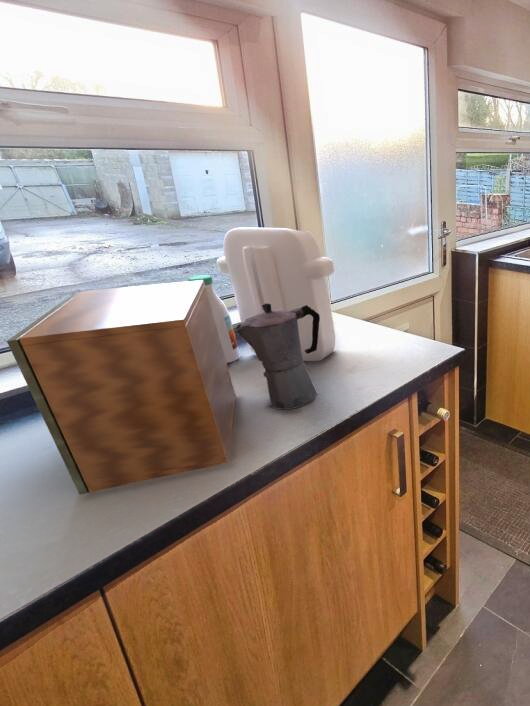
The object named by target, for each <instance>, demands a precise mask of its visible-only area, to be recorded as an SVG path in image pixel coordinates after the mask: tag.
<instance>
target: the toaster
mask: <svg viewBox="0 0 530 706" xmlns="http://www.w3.org/2000/svg"><path fill="white" fill-rule="evenodd" d="M216 266H217V269H218V271H219V272H218V273H219V274H222V275H224V276H228V277H229V280H230V281H229V282H230V284H231V288H232V292H233V296H234V299H235V303H236V307H237V312H238V316H239V319H240V324H241V323H243V322H245V319H248V318H250V317H253V316H256V315H258V314H261V313H265V311H264V310H263V308H262V305H263V304H266V303H268V304H271V311H279V310H284V311H291V310H293V309H297V308H298V309H300V308H301V307H303V306H305V305H307V306H308V307H310V308H311V309H313V310H315V312H317V313H318V314H319V315H320V321H319V330H318V343H317V350H316V351H314V352H311V353H308V354H306V352H305V349H309V348H310V347H311V345H312V340H313V338H312V331H313V330H312V328H313V325H312V323H313V317H312V316H311V315H306V316H305V317H303V318H300V319H298V320H297V323H298V330H299V337H300V344H301V352H302V357H303V361H306V362H307V361H308V362H319V361H322V360H323V359H325V358H327V356H330V355H331V354H332V353H333V352H334V351H335V347H336V332H335V327H334V319H333V313H332V308H331V303H330V296H329V290H328V285H327V279H326V278H328V277H330V276H331V275H333V274H335V265H334V261H333V259H331V258H330V257H328V256H323V255H322V252H321V248H320V246H319V244H318V241H317V240H316V238H315V236H314V234H313V233H312V232H311V231H310V230H308V229H307V230H298V229H294V228H288V227H256V226H255V227H253V226H250V227H249V226H247V227H246V226H240V227H233V228H232V229H229V230H228V231H227V232H226V233H225V234H224V237H223V256H222V255H221V256H219V257H218V258H217V260H216ZM246 343H247V342H246ZM247 346H248V348H249V349H250V352H251V353H252V354H253V355H254V356H255V357H257V355H256V353H255V351H254V349H253V348H252V347H251V346H250V345H249V344H248V343H247Z"/></svg>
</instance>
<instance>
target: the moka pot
mask: <svg viewBox="0 0 530 706" xmlns="http://www.w3.org/2000/svg"><path fill="white" fill-rule="evenodd" d="M262 308H263V310H264V311H265V313H261V314H258V315H256V316H253V317H250V318H248V319H245V322H243V323H241V322H240V323H239V324H237V325H236V327H235V328H233V330H234V333H238V334H239V335H240V337H241V338H243V339H244V341H245V342H246V343H248V344H249V345H250V346H251V347H252V348H253V349H254V351H255V353H256V355H257V356H256V357H257V359H258V361H259V362H261V365H262V367H263V369H264V372H263V373H262V375H263V377H264V378H265V379H266V383H267V391H268V395H269V401H270V406H271V407H272V408H273V409H277V410H291V409H296V408H300V407H302V406H304V405H307V404H309V403H311V402H312V401H313V400H315V398H316V397H317V395H318V392H317V390H316V387H315V385H314V382H313V380H312V378H311V376H310V374H309V372H308V369H307V367H306V363H305V361H304V360H303V357H302V352H301V344H300V337H299V330H298V323H297V320H298V319H300V318H303V317H305V316H306V315H311V316H312V317H313V323H312V325H313V328H312V330H313V331H312V338H313V340H312V345H311V347H310V348H309V349H305V352H306V354H308V353H311V352H314V351H316V350H317V343H318V330H319V321H320V315H319V314H318V313H317V312H315V310H313V309H311V308H310V307H308V306H307V305H305V306H303V307H301V308H300V309H298V308H297V309H293V310H291V311H284V310H279V311H271V304H268V303H266V304H263V305H262ZM248 344H247V345H248Z"/></svg>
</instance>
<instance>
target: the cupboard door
mask: <svg viewBox="0 0 530 706" xmlns="http://www.w3.org/2000/svg"><path fill="white" fill-rule="evenodd" d="M81 292H82V291H78V292H73V293H72V294H71V295H69V296H67V297H66V298H65V299H64V300H62V301H61V302H59V303H58V304H57V305H55V306H53V308H51V309H50V310H48V311H47V312H46V313H44V314H43V315H41V316H40V317H39V318H37V319H36V320H34V321H33V322H31V323H30V324H29V325H27V326H26V327H24V328H23V329H21V330H20V331H19V332H18V333H16V334H14V335H13V336H12V337H11V338H9V339H8V340H6V343H7V345H8V347H9V349H10V351H11V353H12V356H13V358H14V360H15V362H16V364H17V366H18V369H19V370H20V373H21V375H22V376H23V379H24V382H25V383H26V386H27V387H28V390H29V391H30V393H31V395H32V398H33V400H34V402H35V404H36V406H37V408H38V410H39V413H40V414H41V417H42V419H43V421H44V424H45V425H46V427H47V429H48V432H49V434H50V436H51V438H52V440H53V442H54V444H55V446H56V448H57V451H58V453H59V455H60V457H61V459H62V461H63V463H64V465H65V467H66V469H67V471H68V474H69V476H70V478H71V480H72V482H73V485H74V487H75V489H76V491H77V493H78V495H82V494H86V493H88V492H89V490H88V487H87V485H86V483H85V481H84V479H83V477H82V474H81V472H80V470H79V468H78V466H77V464H76V461H75V459H74V457H73V455H72V453H71V451H70V448H69V446H68V444H67V442H66V440H65V438H64V435H63V433H62V431H61V429H60V427H59V425H58V422H57V420H56V418H55V416H54V414H53V412H52V409H51V407H50V405H49V403H48V401H47V399H46V396H45V394H44V392H43V390H42V388H41V386H40V383H39V381H38V379H37V377H36V375H35V373H34V370H33V368H32V366H31V364H30V362H29V360H28V357H27V355H26V353H25V351H24V349H23V347H22V344H21V342H20V340H19V338H20V337H22V336H23V335H24V334H26V333H27V332H28V331H30V330H31V329H32V328H34V327H35V326H36V325H38V324H39V323H40V322H42V321H43V320H45V319H46V318H47V317H49V316H50V315H51V314H53V313H54V312H55V311H57V310H58V309H59V308H61V307H62V306H63V305H65V304H66V303H67V302H69V301H70V300H71V299H73V298H74V297H75V296H77V295H78V294H79V293H81Z"/></svg>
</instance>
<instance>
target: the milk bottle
mask: <svg viewBox="0 0 530 706" xmlns="http://www.w3.org/2000/svg"><path fill="white" fill-rule="evenodd" d="M198 280H204V283H205V287H206V291H207V294H208V298H209V301H210V305H211V309H212V312H213V316H214V319H215V323H216V327H217V330H218V334H219V337H220V341H221V345H222V348H223V352H224V355H225V359H226V363H227V364H229V363H232V362H235V361H237V360H238V359H240V357H241V353H240V349H239V344H238V341H237V337H236V332H234V327H233V323H232V319H231V315H230V313H229V312H230V311H229V310H228V308H227V306H226V304H225V303H224V301H223V300H222V299H221V298H220V296H218V294H217V292H216V290H215V289H214V285H215V284H214V281H213V277H212V276H211V275H209V274H201V275H199V274H198V275H193V276H190V277H188V279H187V281H198Z"/></svg>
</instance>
